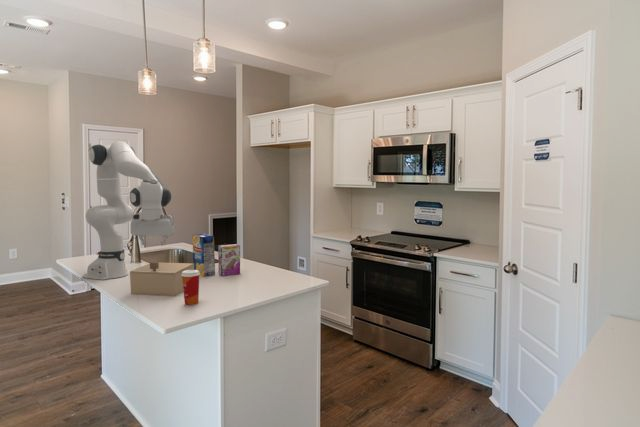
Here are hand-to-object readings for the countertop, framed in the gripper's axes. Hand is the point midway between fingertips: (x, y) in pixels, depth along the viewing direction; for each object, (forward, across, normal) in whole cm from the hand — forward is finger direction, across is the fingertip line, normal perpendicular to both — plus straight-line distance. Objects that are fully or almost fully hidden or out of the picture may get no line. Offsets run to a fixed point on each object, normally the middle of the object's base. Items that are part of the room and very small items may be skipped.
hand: (153, 245), depth 192 cm
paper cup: (+24, -23, +11) cm, 34 cm away
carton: (+23, 0, -8) cm, 24 cm away
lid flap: (+13, 0, -8) cm, 15 cm away
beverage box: (+23, -7, -39) cm, 46 cm away
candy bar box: (+23, -21, -41) cm, 52 cm away
